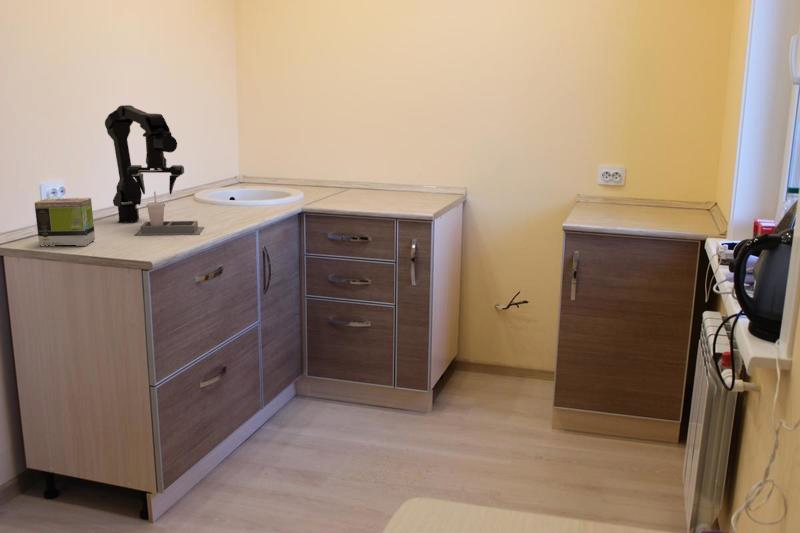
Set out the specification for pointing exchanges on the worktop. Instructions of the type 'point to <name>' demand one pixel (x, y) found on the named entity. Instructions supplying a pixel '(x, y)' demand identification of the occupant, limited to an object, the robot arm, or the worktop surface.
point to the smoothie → (156, 212)
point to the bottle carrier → (170, 228)
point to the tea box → (65, 221)
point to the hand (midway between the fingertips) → (157, 194)
